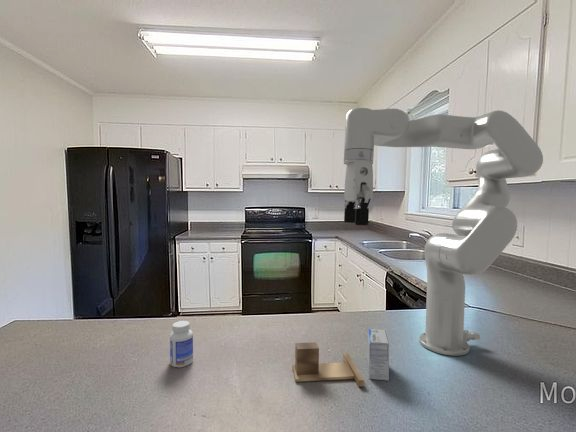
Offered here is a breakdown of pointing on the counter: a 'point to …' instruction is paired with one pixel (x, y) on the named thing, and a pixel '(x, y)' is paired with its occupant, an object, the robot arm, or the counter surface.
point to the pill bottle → (181, 344)
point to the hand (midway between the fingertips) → (355, 223)
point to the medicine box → (378, 354)
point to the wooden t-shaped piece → (322, 366)
